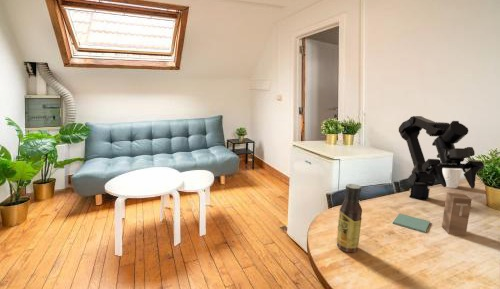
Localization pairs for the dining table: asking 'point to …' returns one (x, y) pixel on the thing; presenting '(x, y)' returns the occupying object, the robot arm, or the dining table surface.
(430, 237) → the dining table surface
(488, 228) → the dining table surface
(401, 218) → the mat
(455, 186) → the white cup
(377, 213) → the dining table surface
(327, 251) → the dining table surface
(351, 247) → the sauce bottle
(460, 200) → the letter block
